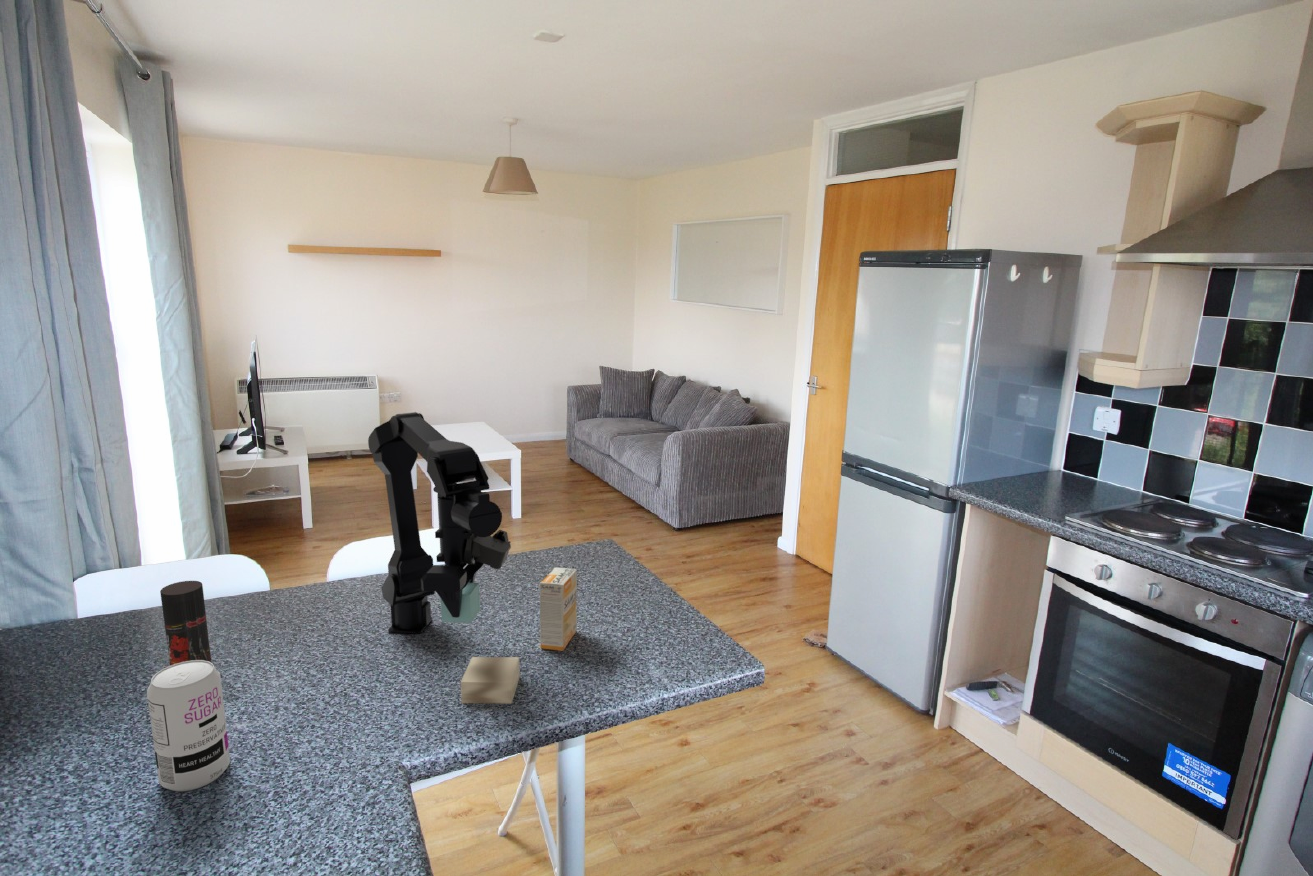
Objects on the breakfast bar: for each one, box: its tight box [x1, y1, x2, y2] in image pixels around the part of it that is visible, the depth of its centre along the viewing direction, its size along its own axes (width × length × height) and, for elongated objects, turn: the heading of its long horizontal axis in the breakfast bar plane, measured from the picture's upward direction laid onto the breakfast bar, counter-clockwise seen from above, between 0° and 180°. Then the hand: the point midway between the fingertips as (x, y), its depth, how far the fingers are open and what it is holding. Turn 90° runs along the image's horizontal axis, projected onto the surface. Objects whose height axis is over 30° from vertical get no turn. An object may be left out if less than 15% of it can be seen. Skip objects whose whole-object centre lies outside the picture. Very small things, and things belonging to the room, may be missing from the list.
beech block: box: [460, 656, 521, 704], centre depth 119 cm, size 8×8×4 cm
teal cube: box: [440, 582, 481, 624], centre depth 122 cm, size 5×5×5 cm
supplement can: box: [146, 660, 231, 792], centre depth 97 cm, size 8×8×15 cm
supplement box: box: [539, 567, 578, 652], centre depth 136 cm, size 8×5×13 cm, turn 168°
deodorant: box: [160, 580, 212, 666], centre depth 123 cm, size 6×6×15 cm
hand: (461, 610), depth 123 cm, fingers closed on teal cube, 5 cm apart
